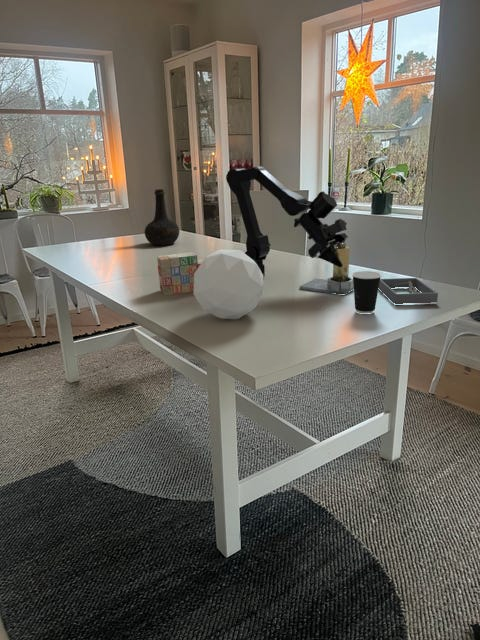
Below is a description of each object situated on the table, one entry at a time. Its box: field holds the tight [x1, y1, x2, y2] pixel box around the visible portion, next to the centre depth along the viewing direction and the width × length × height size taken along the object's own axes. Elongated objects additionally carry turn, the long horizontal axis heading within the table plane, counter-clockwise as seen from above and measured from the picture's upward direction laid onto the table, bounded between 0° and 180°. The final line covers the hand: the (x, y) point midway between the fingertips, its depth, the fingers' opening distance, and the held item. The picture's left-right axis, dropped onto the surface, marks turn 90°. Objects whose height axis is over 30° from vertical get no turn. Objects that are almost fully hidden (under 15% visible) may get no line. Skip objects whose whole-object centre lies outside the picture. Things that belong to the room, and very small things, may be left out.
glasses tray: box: [379, 277, 439, 304], centre depth 148 cm, size 12×18×4 cm
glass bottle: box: [144, 188, 180, 246], centre depth 249 cm, size 18×18×28 cm
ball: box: [193, 249, 264, 320], centre depth 133 cm, size 19×20×20 cm
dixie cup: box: [351, 270, 383, 313], centre depth 134 cm, size 8×8×11 cm
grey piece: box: [299, 276, 354, 295], centre depth 161 cm, size 16×12×4 cm
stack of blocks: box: [156, 251, 204, 296], centre depth 164 cm, size 21×6×12 cm, turn 111°
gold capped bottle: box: [332, 242, 351, 282], centre depth 156 cm, size 5×5×14 cm
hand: (344, 264), depth 156 cm, fingers closed on gold capped bottle, 5 cm apart
